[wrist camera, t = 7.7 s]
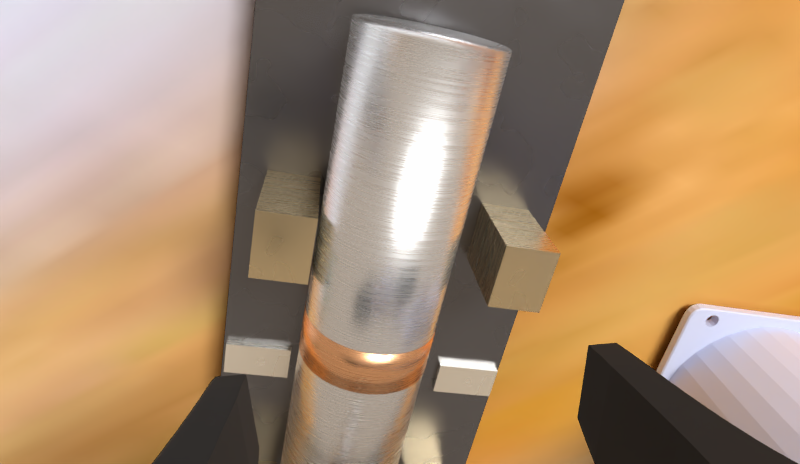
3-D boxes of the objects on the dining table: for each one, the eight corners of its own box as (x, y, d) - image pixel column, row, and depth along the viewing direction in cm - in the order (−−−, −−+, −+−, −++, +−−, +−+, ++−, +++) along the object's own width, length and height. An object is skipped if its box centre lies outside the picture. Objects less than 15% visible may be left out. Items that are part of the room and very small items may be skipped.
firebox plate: (625, -52, 17) (705, -52, 13) (409, 600, 29) (419, 691, 25) (272, -139, 15) (253, -167, 11) (203, 595, 27) (183, 692, 24)
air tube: (368, 10, 16) (333, 18, 12) (510, 43, 16) (517, 60, 12) (289, 472, 24) (253, 563, 20) (385, 498, 23) (366, 594, 20)
